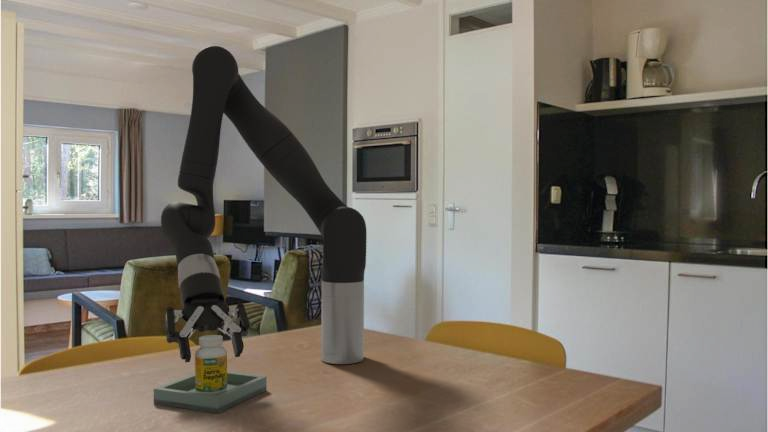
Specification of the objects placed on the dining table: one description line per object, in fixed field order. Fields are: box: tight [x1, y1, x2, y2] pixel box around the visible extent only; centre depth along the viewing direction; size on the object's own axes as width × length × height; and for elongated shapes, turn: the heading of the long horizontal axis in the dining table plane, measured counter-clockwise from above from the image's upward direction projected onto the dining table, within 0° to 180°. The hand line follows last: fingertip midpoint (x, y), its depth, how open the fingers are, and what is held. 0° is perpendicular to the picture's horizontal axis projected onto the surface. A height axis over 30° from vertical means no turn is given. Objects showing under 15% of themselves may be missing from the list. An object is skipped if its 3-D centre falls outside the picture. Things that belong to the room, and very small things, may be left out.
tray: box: [153, 371, 268, 414], centre depth 108 cm, size 14×13×2 cm
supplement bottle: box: [194, 334, 228, 395], centre depth 108 cm, size 5×5×10 cm
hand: (213, 357), depth 107 cm, fingers open, 8 cm apart
